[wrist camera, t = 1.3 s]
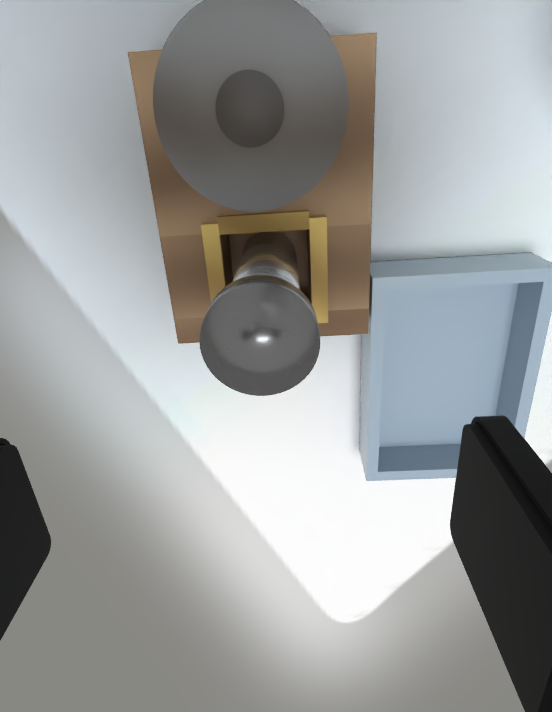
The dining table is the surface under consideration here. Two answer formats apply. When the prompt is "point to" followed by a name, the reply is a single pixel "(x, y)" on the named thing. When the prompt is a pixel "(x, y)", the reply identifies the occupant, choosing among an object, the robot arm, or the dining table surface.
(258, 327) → the lock pin
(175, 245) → the block
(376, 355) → the tray
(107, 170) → the dining table surface
